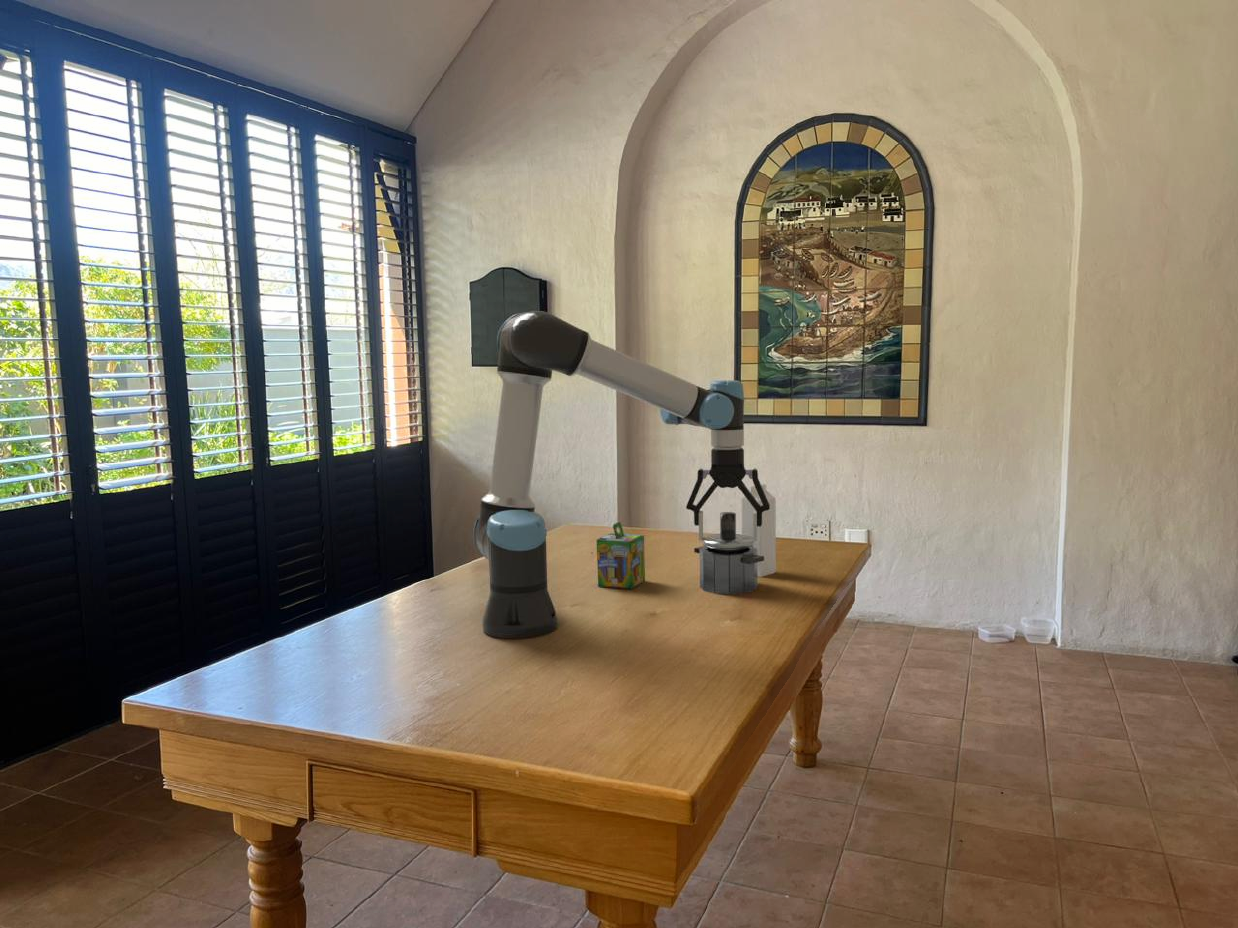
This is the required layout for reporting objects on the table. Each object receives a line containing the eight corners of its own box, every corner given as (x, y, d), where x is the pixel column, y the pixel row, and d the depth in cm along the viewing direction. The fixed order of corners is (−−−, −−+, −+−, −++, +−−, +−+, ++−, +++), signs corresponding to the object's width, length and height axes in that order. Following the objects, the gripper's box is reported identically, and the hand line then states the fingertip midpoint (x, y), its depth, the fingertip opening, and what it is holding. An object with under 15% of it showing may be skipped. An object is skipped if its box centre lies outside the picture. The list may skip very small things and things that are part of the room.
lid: (729, 555, 211) (728, 520, 210) (691, 547, 220) (691, 513, 219) (764, 547, 218) (764, 513, 217) (727, 540, 228) (727, 507, 227)
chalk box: (632, 590, 220) (631, 527, 218) (596, 587, 223) (595, 525, 221) (646, 580, 228) (645, 520, 226) (611, 577, 232) (610, 518, 230)
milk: (775, 573, 233) (776, 485, 230) (760, 577, 229) (760, 488, 226) (756, 569, 237) (757, 482, 234) (741, 573, 233) (741, 485, 230)
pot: (737, 599, 210) (736, 559, 208) (682, 584, 223) (682, 547, 222) (775, 588, 218) (775, 550, 217) (720, 575, 231) (720, 539, 230)
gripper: (780, 445, 218) (780, 537, 221) (677, 445, 222) (678, 535, 225) (780, 449, 211) (780, 543, 213) (673, 449, 215) (674, 542, 218)
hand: (728, 539), depth 219 cm, fingers closed on lid, 12 cm apart
